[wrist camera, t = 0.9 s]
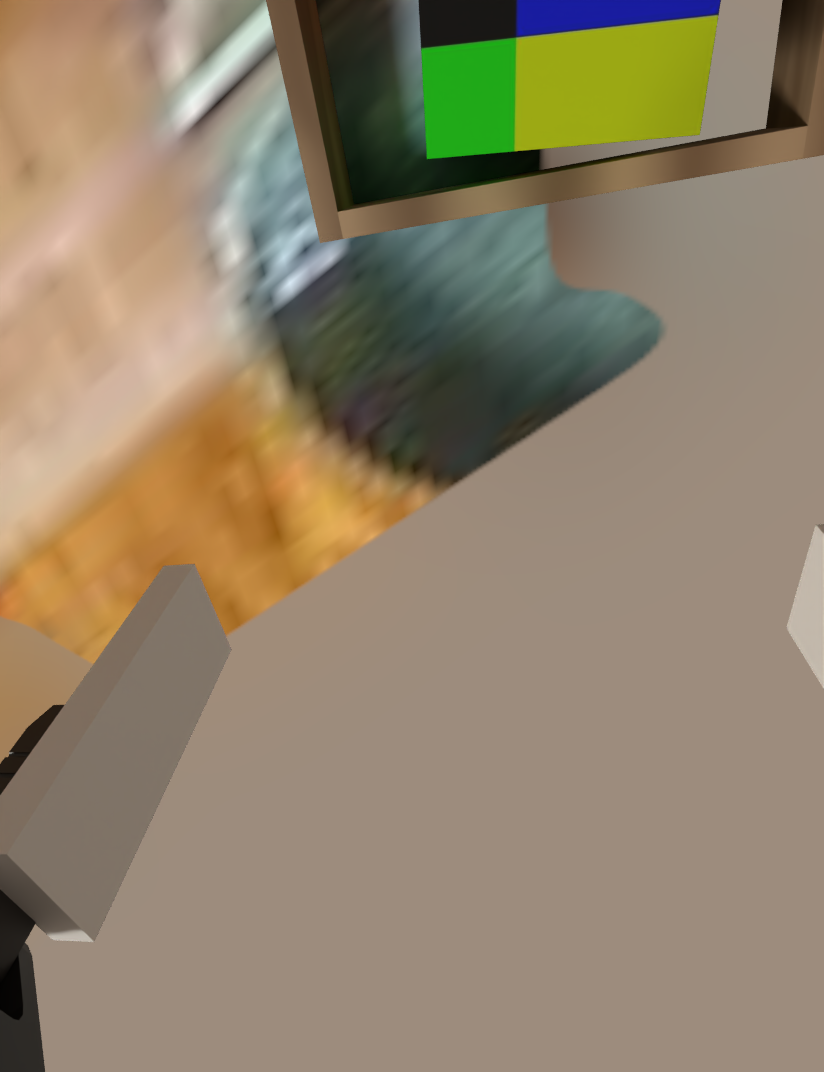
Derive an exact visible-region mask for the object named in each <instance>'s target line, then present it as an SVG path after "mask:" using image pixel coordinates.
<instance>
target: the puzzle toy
mask: <svg viewBox="0 0 824 1072" xmlns="http://www.w3.org/2000/svg"><path fill="white" fill-rule="evenodd" d="M720 2H721V0H419V15H420V35H421V54H422V73H423V92H424V111H425V130H426V150H427V159H433V158H445V157H456V156H467V155H478V154H490V153H501V152H512V151H523V150H535V149H546V148H557V147H568V146H579V145H591V144H602V143H613V142H625V141H636V140H647V139H658V138H669V137H680V136H692V135H700V130H701V123H702V117H703V111H704V104H705V98H706V91H707V85H708V79H709V72H710V66H711V59H712V53H713V47H714V40H715V34H716V27H717V21H718V15H719V8H720Z"/></svg>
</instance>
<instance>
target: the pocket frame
mask: <svg viewBox="0 0 824 1072" xmlns="http://www.w3.org/2000/svg"><path fill="white" fill-rule="evenodd" d="M266 2H267V7H268V11H269V16H270V20H271V25H272V29H273V34H274V38H275V42H276V47H277V51H278V56H279V60H280V65H281V69H282V74H283V78H284V83H285V87H286V92H287V96H288V101H289V105H290V110H291V114H292V119H293V123H294V128H295V132H296V137H297V141H298V146H299V150H300V155H301V159H302V164H303V168H304V173H305V177H306V182H307V186H308V191H309V195H310V200H311V204H312V209H313V213H314V218H315V222H316V227H317V231H318V235H319V240H320V243H322V242H328V241H334V240H340V239H345V238H351V237H357V236H363V235H368V234H374V233H380V232H385V231H391V230H397V229H403V228H408V227H414V226H420V225H425V224H431V223H437V222H443V221H448V220H454V219H460V218H466V217H471V216H477V215H483V214H488V213H494V212H500V211H506V210H511V209H517V208H523V207H529V206H534V205H540V204H546V203H551V202H557V201H562V200H569V199H574V198H580V197H586V196H592V195H597V194H603V193H609V192H614V191H620V190H626V189H631V188H637V187H643V186H649V185H654V184H660V183H666V182H671V181H677V180H683V179H689V178H694V177H700V176H706V175H712V174H717V173H723V172H729V171H735V170H740V169H746V168H752V167H758V166H763V165H769V164H775V163H780V162H786V161H792V160H798V159H803V158H809V157H815V156H820V155H824V0H783V1H782V10H781V17H780V25H779V32H778V40H777V48H776V55H775V63H774V71H773V79H772V87H771V94H770V102H769V110H768V117H767V125H766V129H761V130H755V131H750V132H745V133H739V134H734V135H729V136H723V137H717V138H712V139H707V140H702V141H696V142H690V143H685V144H680V145H674V146H669V147H663V148H658V149H653V150H647V151H641V152H636V153H631V154H625V155H620V156H614V157H609V158H604V159H598V160H593V161H587V162H582V163H576V164H571V165H566V166H560V167H555V168H549V169H544V170H538V171H533V172H528V173H522V174H517V175H511V176H506V177H500V178H495V179H490V180H484V181H479V182H473V183H468V184H463V185H457V186H452V187H446V188H441V189H435V190H430V191H425V192H419V193H414V194H408V195H403V196H397V197H392V198H387V199H381V200H376V201H370V202H365V203H359V204H354V201H353V196H352V191H351V185H350V180H349V175H348V169H347V164H346V159H345V154H344V148H343V143H342V138H341V132H340V127H339V122H338V117H337V111H336V106H335V101H334V95H333V90H332V85H331V80H330V74H329V69H328V64H327V58H326V53H325V48H324V43H323V37H322V32H321V27H320V21H319V16H318V11H317V5H316V0H266Z"/></svg>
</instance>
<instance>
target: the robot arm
mask: <svg viewBox="0 0 824 1072" xmlns="http://www.w3.org/2000/svg"><path fill="white" fill-rule="evenodd" d="M787 630H788V631H789V633H790V635H791V636H792V638H793V639H794V641H795V643H796V644H797V646H798V648H799V649H800V651H801V652H802V654H803V656H804V657H805V659H806V661H807V662H808V664H809V665H810V667H811V669H812V670H813V672H814V673H815V675H816V677H817V678H818V680H819V681H820V683H821V685H822V687H823V688H824V524H821V525H816V526H815V530H814V533H813V537H812V540H811V544H810V548H809V551H808V555H807V558H806V562H805V565H804V569H803V572H802V576H801V579H800V582H799V586H798V589H797V593H796V597H795V600H794V603H793V607H792V611H791V614H790V618H789V621H788V625H787ZM230 652H231V647H230V645H229V642H228V640H227V638H226V635H225V633H224V631H223V628H222V626H221V624H220V622H219V619H218V617H217V615H216V612H215V610H214V608H213V606H212V603H211V601H210V599H209V596H208V594H207V592H206V589H205V587H204V585H203V583H202V580H201V578H200V576H199V573H198V571H197V569H196V567H195V564H186V565H171V566H163V568H162V569H161V571H160V572H159V573H158V575H157V576H156V578H155V579H154V580H153V582H152V583H151V585H150V586H149V587H148V589H147V590H146V592H145V593H144V594H143V596H142V597H141V599H140V600H139V601H138V603H137V604H136V606H135V607H134V608H133V610H132V611H131V613H130V614H129V615H128V617H127V618H126V620H125V621H124V622H123V624H122V625H121V627H120V628H119V630H118V631H117V632H116V634H115V635H114V637H113V638H112V639H111V641H110V642H109V644H108V645H107V646H106V648H105V649H104V651H103V652H102V653H101V655H100V656H99V658H98V659H97V660H96V662H95V663H94V665H93V666H92V668H91V669H90V670H89V672H88V673H87V674H86V676H85V677H84V679H83V680H82V682H81V683H80V684H79V686H78V687H77V688H76V690H75V691H74V693H73V694H72V695H71V697H70V698H69V700H68V701H67V702H66V704H65V705H53V706H52V707H51V708H50V709H49V710H47V711H46V712H45V713H44V714H43V715H41V716H40V717H39V718H38V719H37V720H36V721H34V722H33V723H32V724H31V725H30V726H29V727H28V728H27V729H26V730H25V732H24V733H23V734H22V736H21V737H20V738H19V740H18V741H17V742H16V744H15V745H14V746H13V748H12V749H11V750H10V752H9V757H6V758H4V760H3V761H2V762H1V764H0V1072H45V1066H44V1058H43V1049H42V1040H41V1031H40V1022H39V1013H38V1004H37V995H36V986H35V978H34V969H33V961H32V955H31V953H30V950H29V947H28V945H27V944H26V943H25V941H26V939H27V938H28V936H29V934H30V932H31V930H32V929H33V927H34V925H35V924H36V925H37V926H38V927H39V928H40V929H41V930H43V931H44V932H45V933H46V934H47V935H48V936H49V937H50V938H51V939H52V940H65V941H86V942H88V941H89V942H94V941H95V939H96V937H97V935H98V933H99V930H100V928H101V926H102V924H103V922H104V920H105V918H106V915H107V913H108V911H109V909H110V907H111V905H112V903H113V901H114V899H115V897H116V894H117V892H118V890H119V888H120V886H121V884H122V881H123V879H124V877H125V875H126V873H127V871H128V869H129V867H130V865H131V862H132V860H133V858H134V856H135V854H136V852H137V850H138V848H139V845H140V843H141V841H142V839H143V837H144V835H145V833H146V831H147V828H148V826H149V824H150V822H151V820H152V818H153V816H154V813H155V811H156V809H157V807H158V805H159V803H160V801H161V799H162V796H163V794H164V792H165V790H166V788H167V786H168V784H169V782H170V779H171V777H172V775H173V773H174V771H175V769H176V767H177V765H178V762H179V760H180V758H181V756H182V754H183V752H184V750H185V748H186V745H187V743H188V741H189V739H190V737H191V735H192V733H193V730H194V728H195V726H196V724H197V722H198V720H199V718H200V716H201V713H202V711H203V709H204V707H205V705H206V703H207V701H208V699H209V696H210V694H211V692H212V690H213V688H214V686H215V683H216V681H217V679H218V677H219V675H220V673H221V671H222V669H223V667H224V664H225V662H226V660H227V658H228V656H229V654H230Z"/></svg>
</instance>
